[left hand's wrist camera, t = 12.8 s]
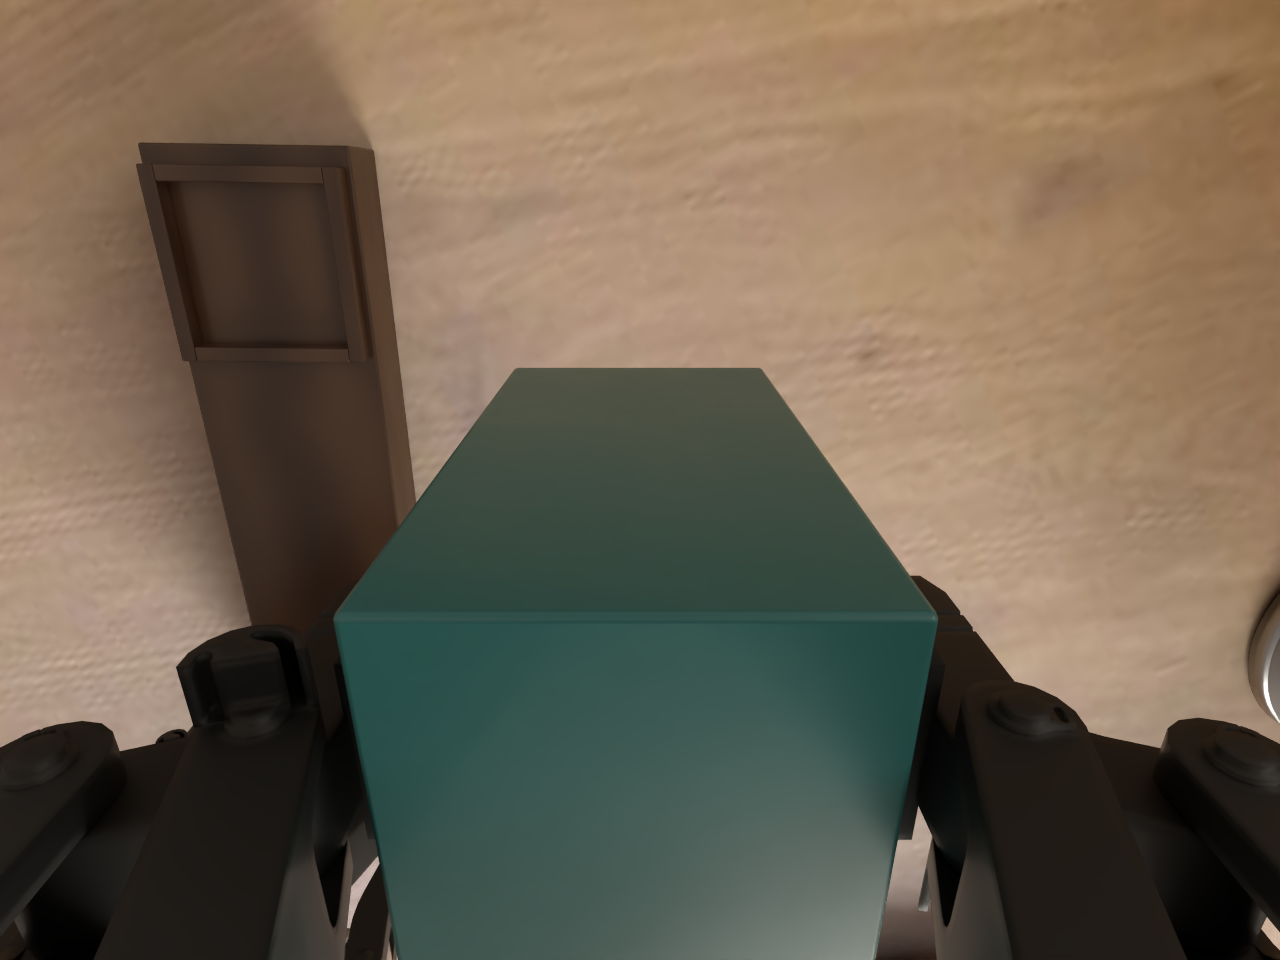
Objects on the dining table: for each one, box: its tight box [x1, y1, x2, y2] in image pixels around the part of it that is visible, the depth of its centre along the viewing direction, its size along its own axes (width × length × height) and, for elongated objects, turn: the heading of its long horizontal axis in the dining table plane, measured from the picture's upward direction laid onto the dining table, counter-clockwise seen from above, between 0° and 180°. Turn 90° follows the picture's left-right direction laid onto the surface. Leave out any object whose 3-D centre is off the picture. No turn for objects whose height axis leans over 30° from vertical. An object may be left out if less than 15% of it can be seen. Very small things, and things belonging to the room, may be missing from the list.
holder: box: [136, 143, 416, 634], centre depth 31 cm, size 8×30×10 cm, turn 179°
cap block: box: [334, 368, 938, 960], centre depth 12 cm, size 6×6×10 cm
